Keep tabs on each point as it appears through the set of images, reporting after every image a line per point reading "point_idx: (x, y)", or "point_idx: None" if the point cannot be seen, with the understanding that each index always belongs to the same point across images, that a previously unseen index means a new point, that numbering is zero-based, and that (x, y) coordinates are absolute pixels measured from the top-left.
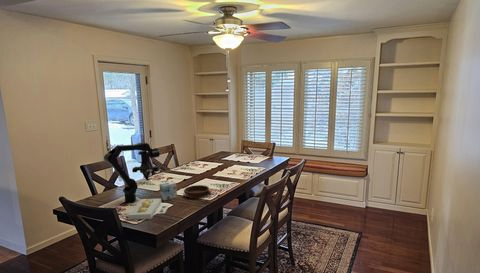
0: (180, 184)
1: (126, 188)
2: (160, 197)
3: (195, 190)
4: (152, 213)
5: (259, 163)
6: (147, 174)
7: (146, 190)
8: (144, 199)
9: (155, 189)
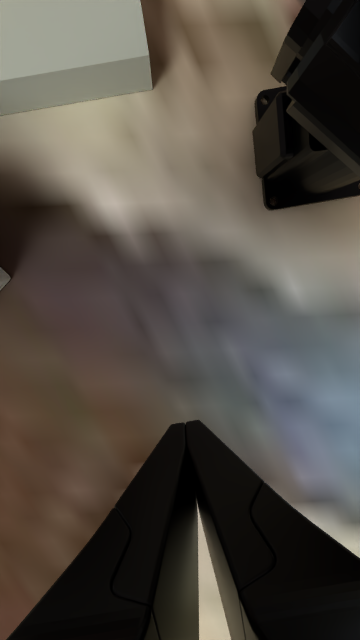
0: (9, 630)
1: None
2: (5, 275)
3: None
4: None
5: None
6: (112, 596)
7: (271, 474)
8: (92, 50)
9: None
